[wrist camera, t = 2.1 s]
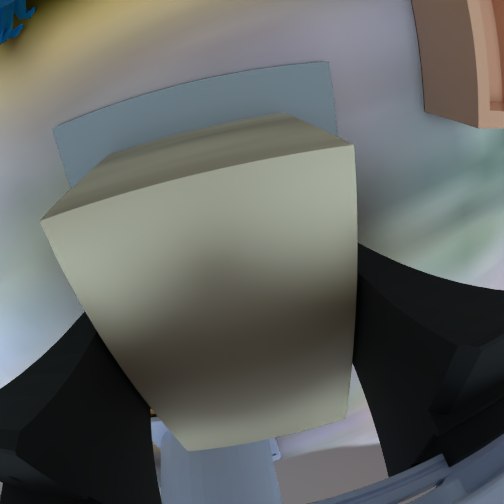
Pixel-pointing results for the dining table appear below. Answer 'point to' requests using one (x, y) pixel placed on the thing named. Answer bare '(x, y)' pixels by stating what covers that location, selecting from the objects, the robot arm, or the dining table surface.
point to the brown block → (462, 59)
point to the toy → (3, 8)
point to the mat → (197, 111)
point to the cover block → (222, 275)
